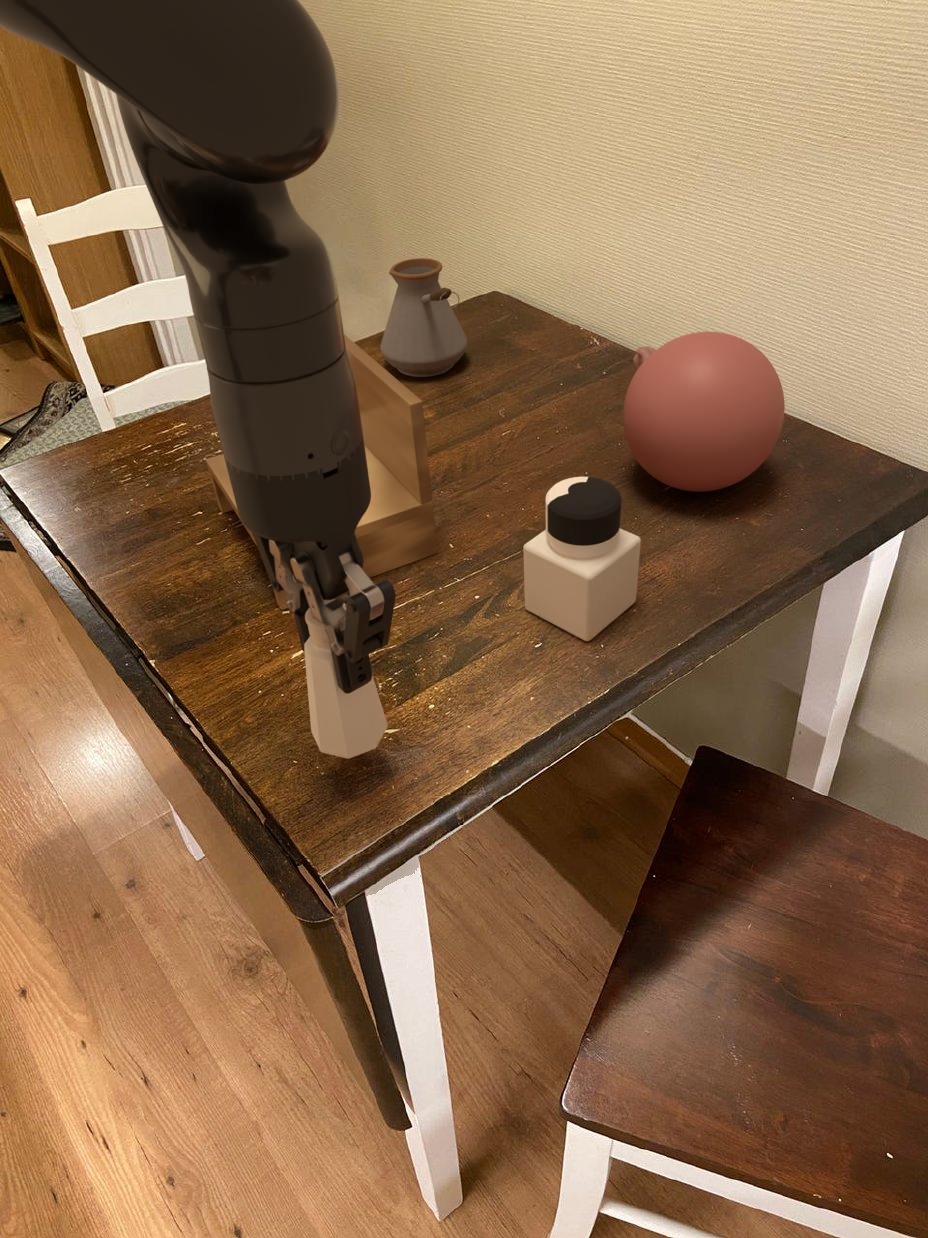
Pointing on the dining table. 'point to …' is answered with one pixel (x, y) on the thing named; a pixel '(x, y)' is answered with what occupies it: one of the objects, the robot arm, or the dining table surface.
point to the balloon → (703, 410)
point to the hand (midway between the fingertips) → (337, 666)
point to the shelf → (378, 472)
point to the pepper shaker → (339, 701)
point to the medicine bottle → (581, 559)
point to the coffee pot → (422, 322)
